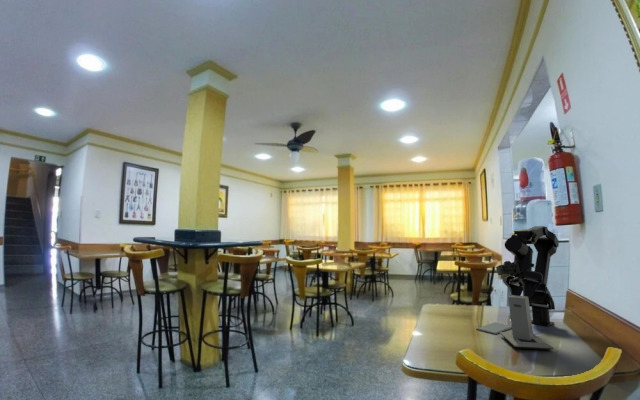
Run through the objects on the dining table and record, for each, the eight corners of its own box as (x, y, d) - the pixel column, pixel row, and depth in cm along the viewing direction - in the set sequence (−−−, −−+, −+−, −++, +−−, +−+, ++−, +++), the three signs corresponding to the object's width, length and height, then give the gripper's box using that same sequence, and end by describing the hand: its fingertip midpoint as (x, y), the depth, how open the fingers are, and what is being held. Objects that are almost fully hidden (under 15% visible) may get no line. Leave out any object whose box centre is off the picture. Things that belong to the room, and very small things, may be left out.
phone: (495, 325, 123) (495, 322, 123) (514, 329, 117) (514, 326, 117) (476, 331, 115) (476, 328, 115) (495, 336, 110) (495, 333, 110)
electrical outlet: (554, 354, 93) (553, 346, 93) (515, 352, 95) (514, 344, 95) (533, 339, 106) (533, 332, 106) (499, 338, 108) (499, 331, 108)
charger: (516, 334, 104) (511, 294, 105) (533, 337, 100) (528, 296, 102) (512, 338, 101) (508, 296, 103) (530, 341, 97) (524, 298, 99)
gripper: (491, 260, 127) (487, 298, 122) (509, 249, 110) (505, 293, 105) (521, 267, 124) (518, 306, 119) (544, 257, 107) (542, 302, 102)
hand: (520, 302), depth 111 cm, fingers open, 9 cm apart
